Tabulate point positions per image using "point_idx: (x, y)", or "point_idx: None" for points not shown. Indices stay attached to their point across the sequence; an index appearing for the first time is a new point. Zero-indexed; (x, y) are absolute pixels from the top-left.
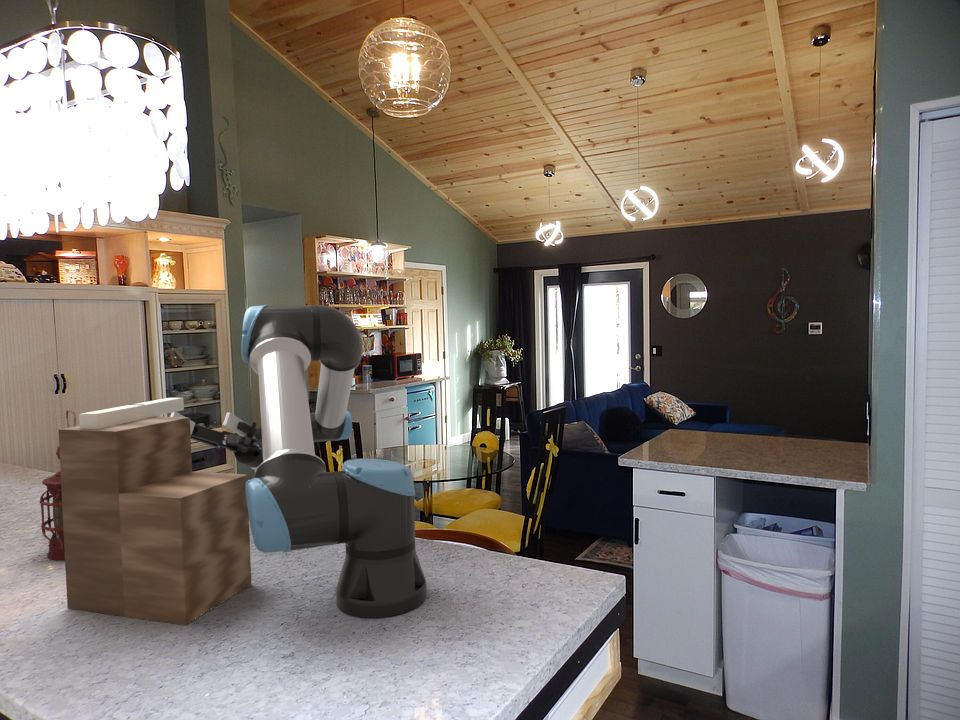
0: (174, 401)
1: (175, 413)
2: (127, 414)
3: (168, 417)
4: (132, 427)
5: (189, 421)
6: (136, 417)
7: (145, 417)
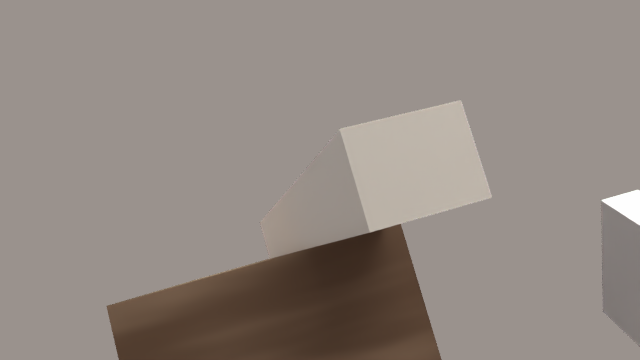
0: (321, 169)
1: (610, 224)
2: (275, 230)
3: (213, 275)
4: (193, 280)
5: (112, 323)
6: (284, 243)
7: (294, 247)
